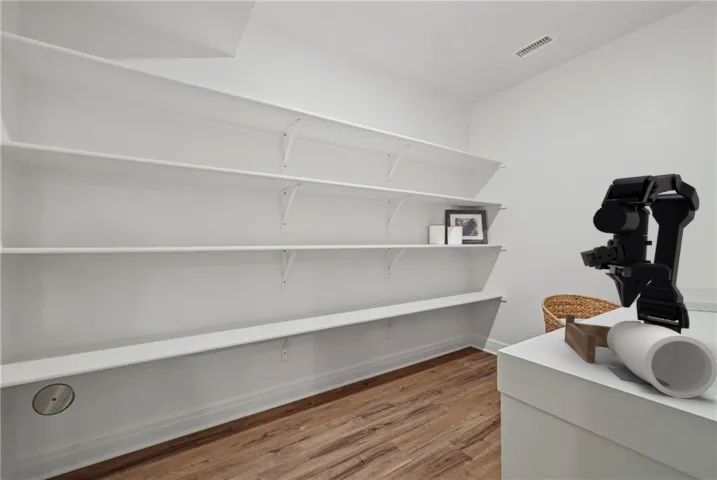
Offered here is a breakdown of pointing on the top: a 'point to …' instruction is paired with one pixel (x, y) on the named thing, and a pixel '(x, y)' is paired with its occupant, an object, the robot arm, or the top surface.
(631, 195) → the robot arm
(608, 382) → the top surface
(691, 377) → the jar
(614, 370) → the plate
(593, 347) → the low open wooden frame
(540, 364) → the top surface
